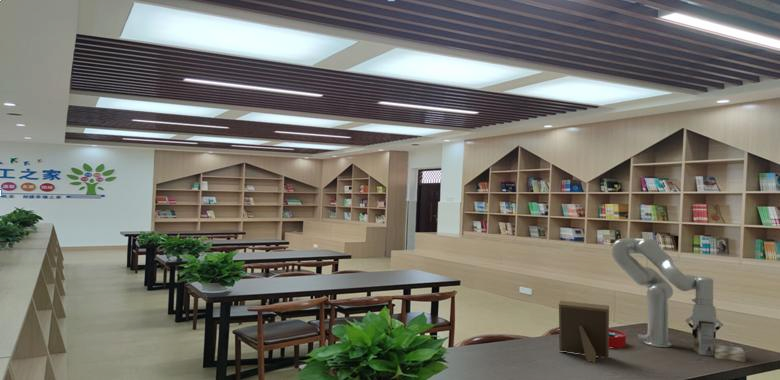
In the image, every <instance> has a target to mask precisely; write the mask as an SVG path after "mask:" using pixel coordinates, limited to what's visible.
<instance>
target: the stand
mask: <svg viewBox="0 0 780 380" xmlns="http://www.w3.org/2000/svg"><path fill="white" fill-rule="evenodd" d="M713 357H714V358H715V359H719V360H720V359H721V360H727V361H736V362H745V363H746V358H747V356H746V352H745V350H743V349H742V347H739V346H738V347H737V346H728V345H719V344H714V356H713Z"/></svg>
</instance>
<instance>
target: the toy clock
mask: <svg viewBox="0 0 780 380" xmlns="http://www.w3.org/2000/svg"><path fill="white" fill-rule="evenodd" d="M626 338H627V335H626V333H624V332H622V331H619V330H617V329H610V328H609V347H613V348H612V349H623V348H622V347H624V348H625V347H626V344H627V341H626Z"/></svg>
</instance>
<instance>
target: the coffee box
mask: <svg viewBox="0 0 780 380" xmlns="http://www.w3.org/2000/svg"><path fill="white" fill-rule="evenodd" d="M693 339H694V340H693V351H695V352H696V353H697V354H698V355H701V356H713V357H715V356H714V345H715V338H714V323H713V322H705V321H699V325H697V327H696V338H694V337H693Z"/></svg>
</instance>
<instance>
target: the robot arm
mask: <svg viewBox="0 0 780 380" xmlns="http://www.w3.org/2000/svg"><path fill="white" fill-rule="evenodd" d="M611 254H612V258H613V260H614V261H615V262H616V264H617V265H618V266H619V268H621V269H622V270H623V271H624V272H625V273H626V274H627V275H628V276H629V277H630V279H632V280H633V281H634V283H636V284H637V285H638V286H641V287H645V286H646V287H647V291H646V300H647V302H646V303H647V333H646V334H639V333H638V334H637V338H638V339H640V340H641V339H642V340H644V341H643V342H644V344H645V345H647V346H651V347H657V348H658V347H659V348H670V347H672V343H671V342H670V341H669V305H668V300H669V299H671V298H672V297H673V294H674V291H673V290H674V289H673V287H672V286H671V284H672V285H673V286H674V287H675V288H677V289H678V290H680V291H682V292H688V291H693V290H695V298H692V299H691V302H693V307H692V315H691V316H690V317H688V318H687V319H685V323H687V325H688V326H689V328H691V329H692V330H691V332H692V334H691V335H692V336H693V339H694V338H696V327H697V325H699V321H705V322H713V323H714V339H716V338H717V336H716V334H717V331H718V330H721V328H722V327H723V326H724V323H722V322H721V321H720V320H719V319H717V310H716V306H715V305H714V279H712V278H711V277H707V276H695V275H691V274H684V273H683V272H682V271H681V270H679V269H678V267H677V266H676V265H675V264H674V261H673V259H672V257H671V255H669V254H668V253H667V252H665V251H664V250H663V249H662V248H661V247H660V244H659V242H658V240H656V239H654V238H651V237H650V238H649V237H648V238H634V237H633V238H631V237H629V238H628V237H627V238H619V239H617V240H615V241H614V242H613V245H612V247H611ZM632 254H640V255H642V256H644V257H645V258H646V259H647V260H648V261H650V262H651V263H652V264H653V266H655V267H656V268H657V269H658V270H659V272H660V273H661V274H662V275H663V277H664V278H663V277H662V276H661V275H660V274H659V273H658V272H657V271H656V270H655V269H654V268H652V267H648V266H643V265H642V264H641V263H640V262H639V261H638V260H637V259H636V258H634V257H633V256H632ZM669 282H670V283H671V284H670V283H669ZM691 321H692V323H691ZM717 324H718V325H717Z"/></svg>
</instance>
